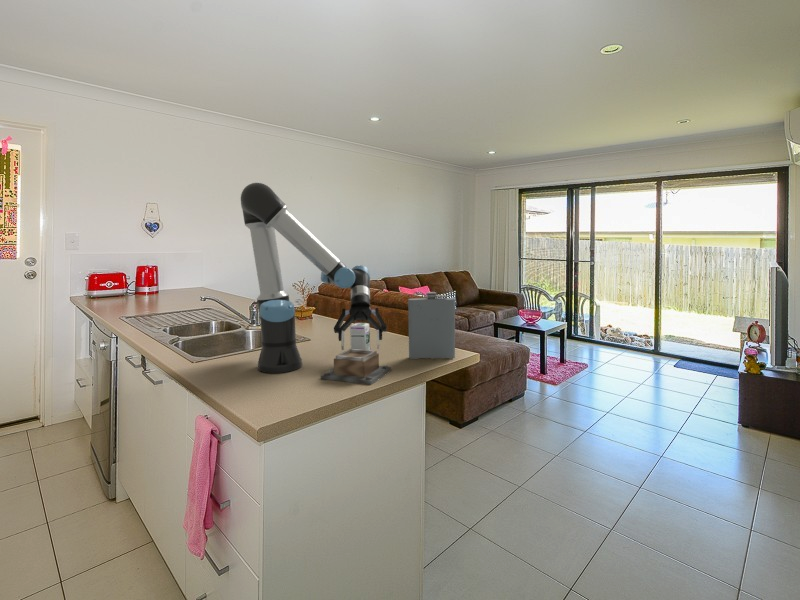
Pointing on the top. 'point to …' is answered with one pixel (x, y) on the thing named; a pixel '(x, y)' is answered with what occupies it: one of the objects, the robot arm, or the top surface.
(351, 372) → the assembly base
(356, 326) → the syrup box
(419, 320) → the tall gray carton
